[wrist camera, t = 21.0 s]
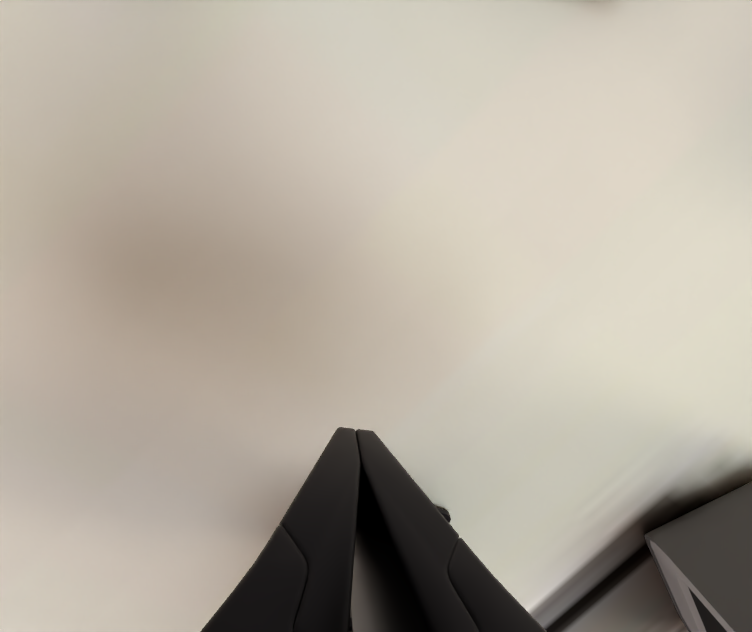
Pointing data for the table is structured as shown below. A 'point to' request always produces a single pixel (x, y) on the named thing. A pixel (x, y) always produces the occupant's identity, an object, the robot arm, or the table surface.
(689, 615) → the alarm clock
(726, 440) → the table surface
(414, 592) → the robot arm
